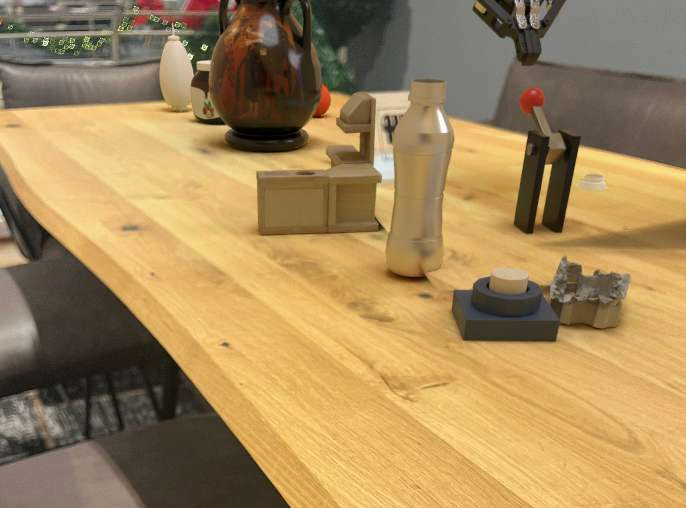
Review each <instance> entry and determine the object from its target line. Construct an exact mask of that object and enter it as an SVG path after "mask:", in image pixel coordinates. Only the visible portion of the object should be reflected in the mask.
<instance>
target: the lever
mask: <svg viewBox="0 0 686 508" xmlns="http://www.w3.org/2000/svg"><path fill="white" fill-rule="evenodd" d="M518 103H519V108H520V110H521V112H522V113H523V114H524V115H527V116H531V119H532V120H533V123H534V125H535V128H536V131H538V132H540V133H543V134H545V135H547V136H549V137H550V140H549V146H548V151H547V157H546V163H545V166H547V165H548V166H549V165H552V164H560V161H561V159H562V157H563V155H564V153H565V150H566V146H565V143H564V141H563V139H562V136H561V134H560V133H558V132H552V130H551V127H550V126H549V123H548V120H547V118H546V116H545V113H544V110H543V108H544V106H545V103H546V97H545V93H544V91H542V89H540V88H538V87H535V86H534V87H533V86H532V87H528V88H527V89H525V90H524V91H523V92H522V93H521V95H520V97H519V102H518Z"/></svg>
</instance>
